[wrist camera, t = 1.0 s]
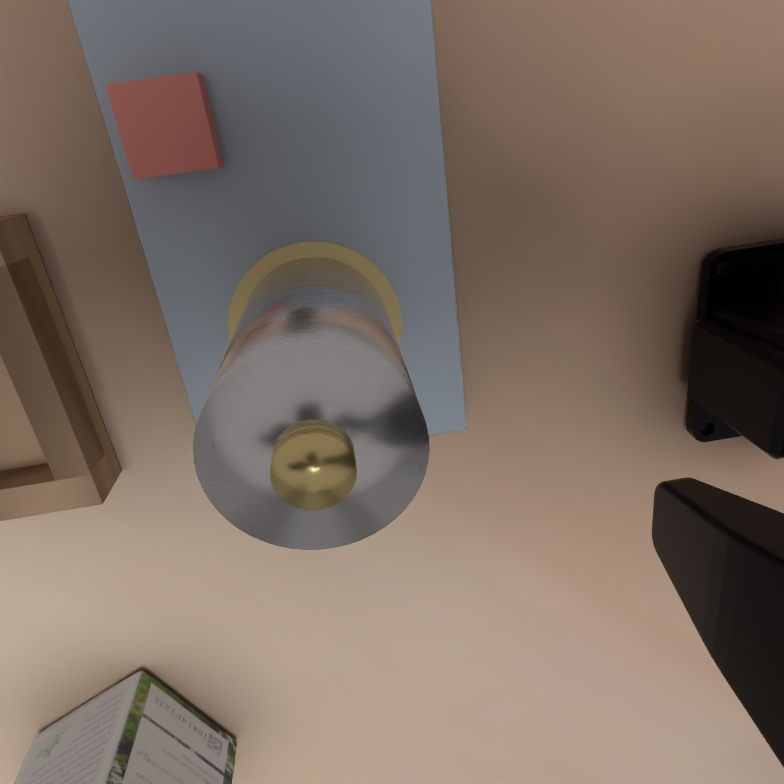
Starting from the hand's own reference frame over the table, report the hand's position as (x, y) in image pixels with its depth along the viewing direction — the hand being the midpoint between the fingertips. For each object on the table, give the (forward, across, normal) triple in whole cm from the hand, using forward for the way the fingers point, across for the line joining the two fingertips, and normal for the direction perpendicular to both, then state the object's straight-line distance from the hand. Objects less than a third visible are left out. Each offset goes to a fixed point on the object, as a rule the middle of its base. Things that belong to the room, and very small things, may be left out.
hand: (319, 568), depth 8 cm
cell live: (+10, 0, 0) cm, 10 cm away
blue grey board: (+11, 0, -5) cm, 12 cm away
